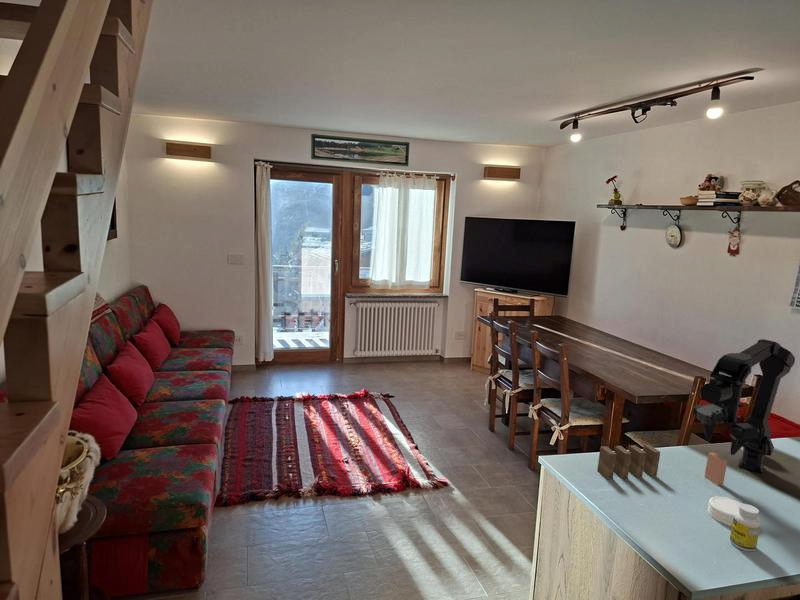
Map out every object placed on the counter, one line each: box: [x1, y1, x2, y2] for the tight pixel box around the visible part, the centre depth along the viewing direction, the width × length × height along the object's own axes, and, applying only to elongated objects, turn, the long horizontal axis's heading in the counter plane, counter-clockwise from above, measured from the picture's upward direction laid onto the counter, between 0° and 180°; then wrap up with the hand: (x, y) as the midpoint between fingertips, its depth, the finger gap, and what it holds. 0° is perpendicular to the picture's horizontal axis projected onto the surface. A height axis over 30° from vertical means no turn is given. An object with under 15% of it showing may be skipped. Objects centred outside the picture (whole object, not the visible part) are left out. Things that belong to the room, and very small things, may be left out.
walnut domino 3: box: [628, 444, 646, 478], centre depth 156 cm, size 2×5×8 cm, turn 12°
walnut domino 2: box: [613, 445, 631, 479], centre depth 155 cm, size 2×5×8 cm, turn 12°
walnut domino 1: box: [596, 445, 616, 480], centre depth 154 cm, size 2×5×8 cm, turn 12°
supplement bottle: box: [729, 503, 762, 552], centre depth 123 cm, size 5×5×10 cm
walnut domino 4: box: [642, 444, 661, 478], centre depth 157 cm, size 2×5×8 cm, turn 12°
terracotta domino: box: [704, 452, 728, 486], centre depth 154 cm, size 2×5×8 cm, turn 12°
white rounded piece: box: [707, 496, 744, 528], centre depth 135 cm, size 10×10×4 cm
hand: (719, 447), depth 153 cm, fingers open, 9 cm apart
